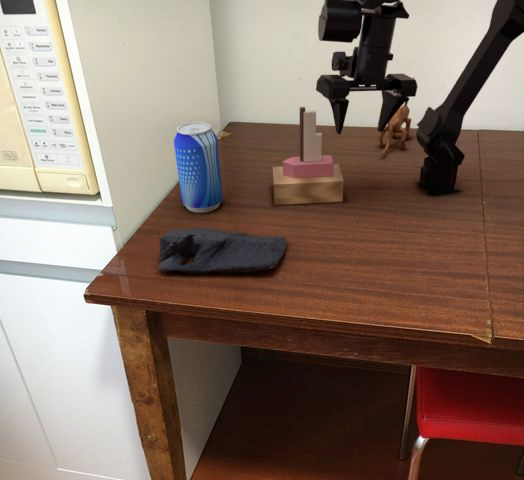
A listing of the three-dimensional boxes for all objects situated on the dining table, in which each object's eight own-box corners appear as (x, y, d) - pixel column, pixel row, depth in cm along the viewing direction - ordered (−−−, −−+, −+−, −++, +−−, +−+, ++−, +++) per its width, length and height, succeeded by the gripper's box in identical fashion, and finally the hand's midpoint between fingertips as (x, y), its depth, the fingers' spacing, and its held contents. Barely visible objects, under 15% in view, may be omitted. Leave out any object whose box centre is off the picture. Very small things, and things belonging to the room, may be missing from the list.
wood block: (337, 183, 129) (338, 163, 126) (342, 201, 122) (343, 180, 119) (273, 186, 129) (272, 166, 126) (274, 205, 122) (273, 184, 119)
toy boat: (330, 168, 125) (332, 102, 116) (333, 176, 121) (335, 109, 113) (282, 170, 125) (280, 105, 116) (283, 179, 121) (281, 112, 113)
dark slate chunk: (275, 284, 99) (274, 260, 96) (150, 274, 103) (146, 250, 100) (291, 240, 110) (291, 216, 107) (179, 232, 115) (176, 209, 112)
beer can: (174, 207, 124) (162, 129, 114) (204, 193, 128) (195, 117, 118) (201, 218, 119) (192, 138, 109) (231, 203, 124) (225, 125, 114)
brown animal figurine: (395, 161, 137) (401, 99, 129) (368, 157, 140) (372, 96, 131) (417, 135, 149) (424, 77, 141) (391, 132, 152) (397, 75, 143)
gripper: (395, 34, 115) (379, 117, 125) (308, 33, 109) (298, 120, 119) (428, 48, 107) (408, 135, 117) (336, 48, 101) (323, 140, 111)
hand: (359, 132), depth 116 cm, fingers open, 9 cm apart
